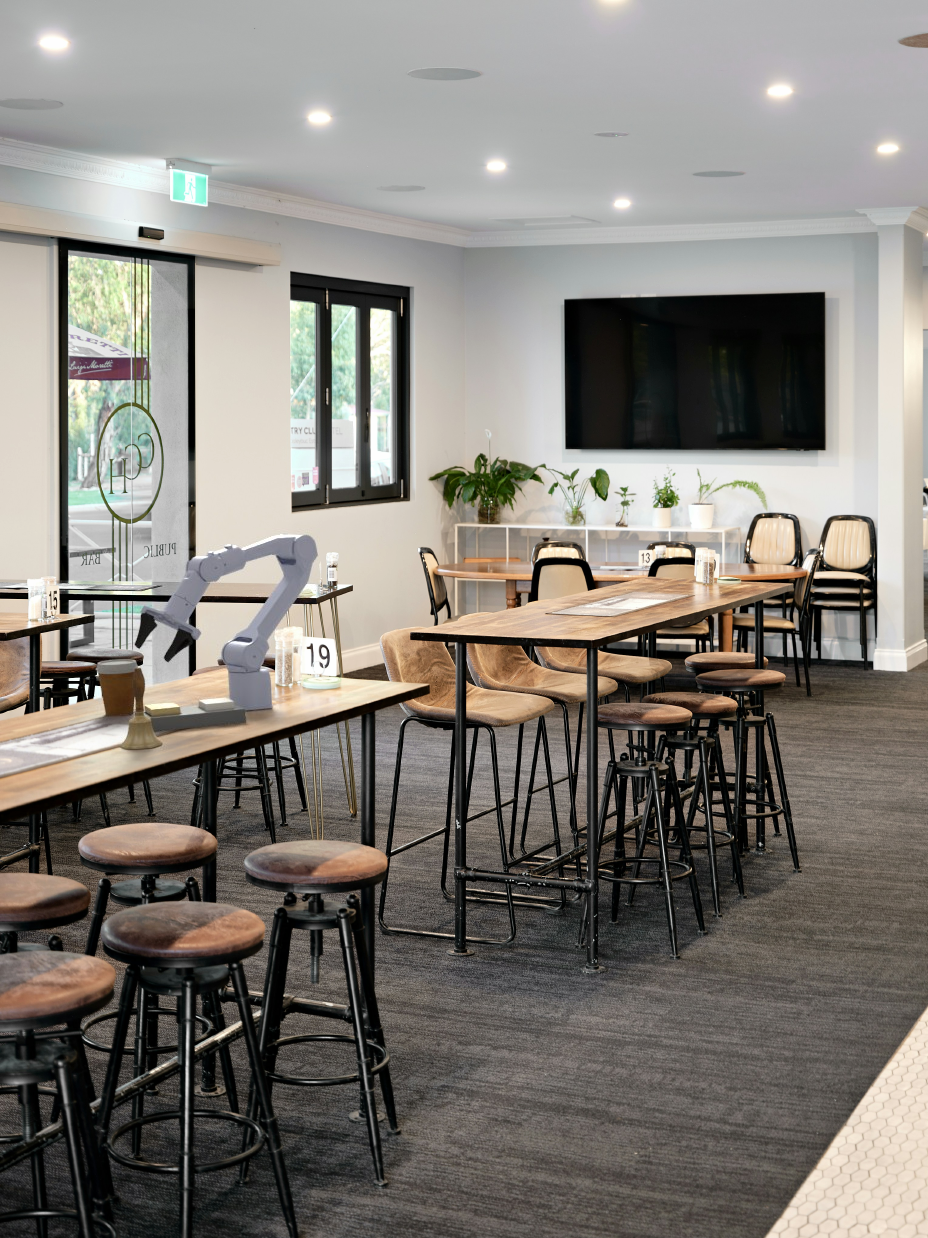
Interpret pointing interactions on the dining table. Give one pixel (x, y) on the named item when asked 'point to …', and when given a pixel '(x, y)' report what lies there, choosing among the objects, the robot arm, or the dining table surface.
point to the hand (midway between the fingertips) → (151, 653)
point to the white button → (216, 704)
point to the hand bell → (140, 719)
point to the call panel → (197, 718)
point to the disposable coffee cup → (117, 686)
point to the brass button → (162, 709)
